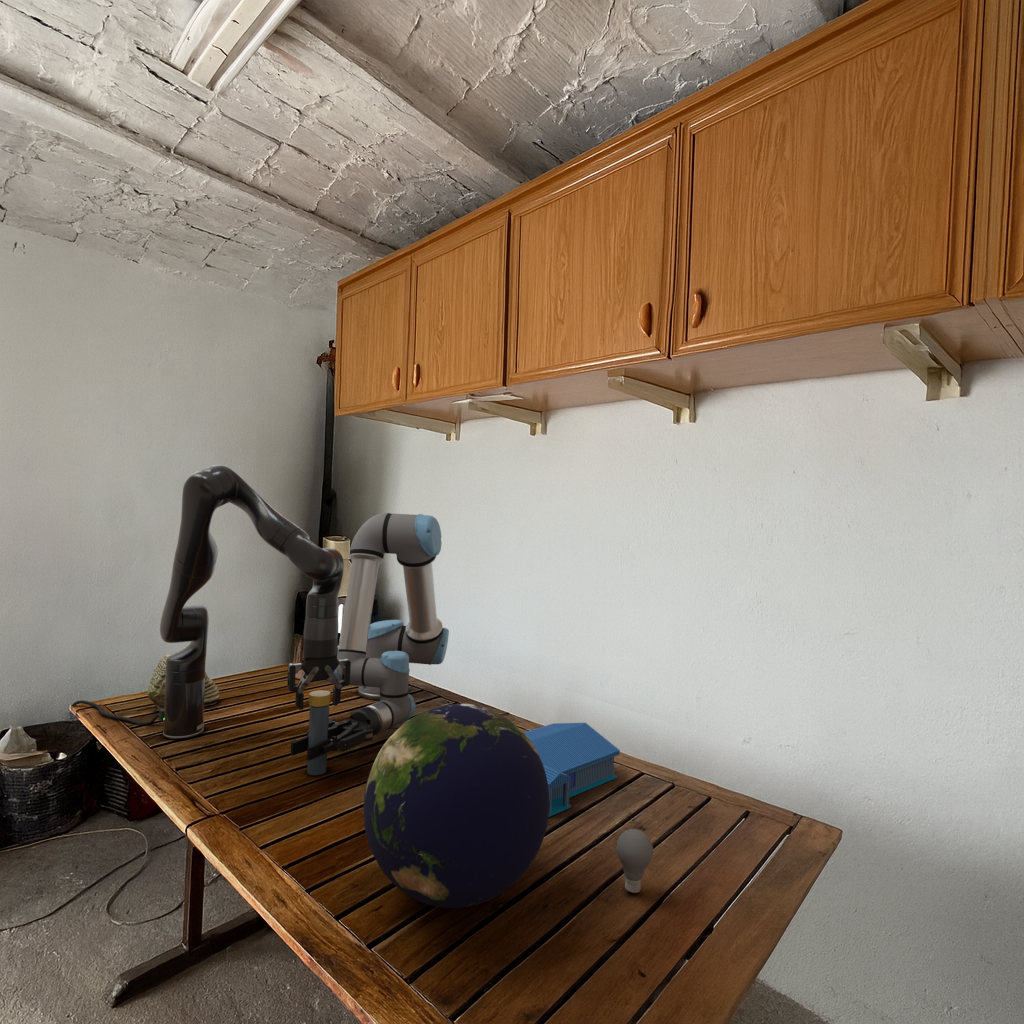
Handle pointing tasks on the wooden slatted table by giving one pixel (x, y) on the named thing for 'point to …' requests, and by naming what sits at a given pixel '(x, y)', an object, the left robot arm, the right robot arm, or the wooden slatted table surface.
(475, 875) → the globe
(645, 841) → the light bulb
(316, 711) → the grey bottle
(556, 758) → the model building
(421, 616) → the right robot arm
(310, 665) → the left robot arm
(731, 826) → the wooden slatted table surface
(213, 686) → the fossil
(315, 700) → the lid
